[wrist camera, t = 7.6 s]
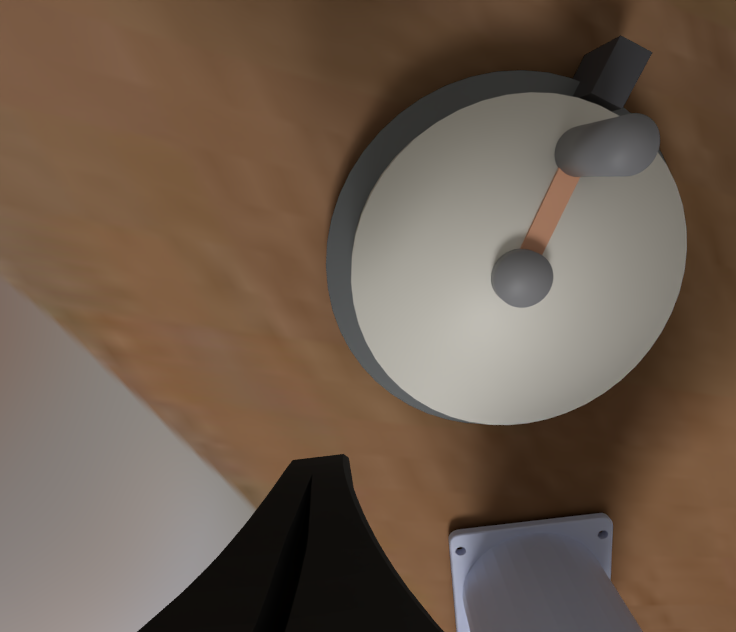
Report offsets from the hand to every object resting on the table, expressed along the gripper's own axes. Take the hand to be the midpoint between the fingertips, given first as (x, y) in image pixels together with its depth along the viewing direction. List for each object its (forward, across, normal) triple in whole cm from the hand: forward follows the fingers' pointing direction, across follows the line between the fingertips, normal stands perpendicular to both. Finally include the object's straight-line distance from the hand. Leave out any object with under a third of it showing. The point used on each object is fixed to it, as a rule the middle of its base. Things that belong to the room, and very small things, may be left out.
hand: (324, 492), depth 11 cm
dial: (+8, -7, -3) cm, 11 cm away
